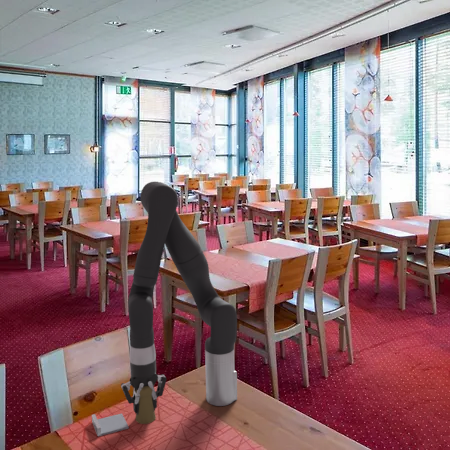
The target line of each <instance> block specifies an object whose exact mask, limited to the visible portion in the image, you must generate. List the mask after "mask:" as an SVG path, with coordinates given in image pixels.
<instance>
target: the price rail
mask: <svg viewBox="0 0 450 450" xmlns="http://www.w3.org/2000/svg"><path fill="white" fill-rule="evenodd" d="M97 419H98V418H97V415H96V414H95V413H94V414H91V422H92V425H93V428H94V431H95V433H96V435H97V437H101V427H100V425H99V422H98V420H97Z"/></svg>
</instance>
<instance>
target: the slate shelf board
mask: <svg viewBox="0 0 450 450" xmlns="http://www.w3.org/2000/svg"><path fill="white" fill-rule="evenodd" d="M97 420H98V422H99V425H100V427H101V436H106V435H109V434H113V433H116V432H120V431H125V430H127V429H129V424H128V422H127V420H126V418H125V417H124V415H123V413H119V414H113V415H109V416H106V417H105V416H104V417H102V418H97ZM101 436H100V437H101Z"/></svg>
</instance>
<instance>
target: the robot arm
mask: <svg viewBox="0 0 450 450" xmlns="http://www.w3.org/2000/svg"><path fill="white" fill-rule="evenodd" d="M140 203H141V205H142V207H143V208H144V210H145V211H146V212H147V224H146V231H145V235H144V237H143V240H142V242H141V245H140V247H139V249H138V252H137V256H136V259H135V265H134V271H133V277H132V283H131V286H130V290H129V291H130V292H129V296H128V300H127V307H128V308H127V310H128V319H129V322H128V323H129V362H130V363H129V365H130V367H129V368H130V378H129V381H127V382H126V383H124V382H122V383H121V384H120V387H121V389H122V392H123V394H124V397H125V399H126V400H127V403H128V404H130V405H131V404H133V405H132V406H133V409H132V410H133V411H134V414H135V415H136V413H137V415H138V414H139V403H138V402H139V398H140V394H139V393H140V391H141V389H142V388H143V387H144V386H149V387H150V388H151V387H152V388H151V389H152V401H153V407H154V411H156V409H158V408H157V407H158V402H157V399H158V398H159V397H162V396H163V394H164V391H165V386H166V383H167V377H166V376H165V374H164V373H163V374H162V373H161V374H157V358H156V357H157V353H156V347H155V333H154V327H153V326H154V305H153V299H154V297H153V296H154V291H155V290H154V289H155V286H156V284H157V283H158V279H159V273H160V268H161V262H162V257H163V252H164V247H166V249H167V251H168V253H169V256H170V258H171V260H172V262H173V263H174V267H175V268H176V269H177V271H178V273H179V274H180V277H181V279H182V280H183V283H184V284H185V285H186V287H187V289H188V290H189V292H190V294H191V295H192V298H193V300H194V302H195V306H196V309H197V310H198V313H199V316H200V318H201V320H202V322H203V323H205V324H206V325H207V326H209V327H210V336H209V337H208V338H206V339H205V341H204V356H205V357H204V358H205V399H206V402H207V403H208V404H210V405H212V406H217V407H222V406H223V407H224V406H228V405H231V404H232V403H234V402H235V401H237V400H238V373H237V371H236V370H235V343H236V341H237V330H238V329H237V328H238V314H237V309H236V307H235V306H234V305H232V304H231V303H230V302H227V301H226V300H224V299H222V298H221V297H220V296H219V294H218V292H217V291H216V289H215V288H214V286H213V284H212V282H211V277H210V268H209V263H208V260H207V258H206V255H205V253H204V251H203V250H202V247H201V246H200V244H199V242H198V240H197V239H196V238H195V236H194V235H193V233H192V232H191V230H189V228H188V227H187V226H186V224H185V223H184V222H183V220H182V219H181V217H180V215H179V213H178V211H177V207H178V203H179V195H178V193H177V191H176V190H175V189H174V188H173V187H172V186H171V185H169V184H166V183H163V182H161V181H150V182H148V183H146V184H145V185H144V186H143V188H142V189H141V192H140ZM157 382H158V383H157ZM156 383H157V388H156V390H155V388H154V386H155V384H156ZM131 386H132V388H133V395H132V396H131V394H130V392H129V391H130V390H131ZM136 390H137V393H136Z"/></svg>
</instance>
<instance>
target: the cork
mask: <svg viewBox="0 0 450 450" xmlns="http://www.w3.org/2000/svg"><path fill="white" fill-rule="evenodd" d="M151 388H152V387H151ZM151 388H150V387H149V386H144V387H143V388H142V389H141V391H140V393H139V394H140V398H139V402H138V403H139V414H138V415H137V413H136V414H135V422H136V423H138V424H141V425H147V424H150V423H151V424H152V423H153V422H154V421H156V418H157V416H156V412H155V411H156V410H155V411H154V407H153V401H152V389H151ZM136 393H137V390H136Z"/></svg>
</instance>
